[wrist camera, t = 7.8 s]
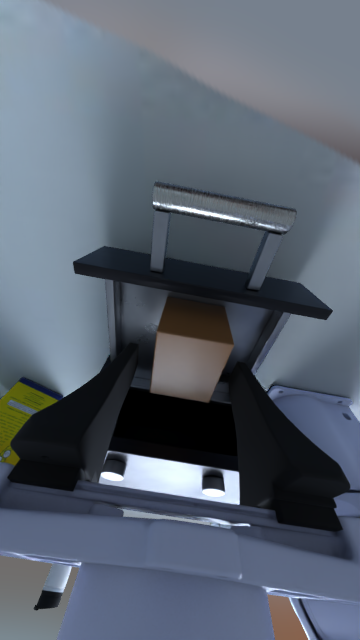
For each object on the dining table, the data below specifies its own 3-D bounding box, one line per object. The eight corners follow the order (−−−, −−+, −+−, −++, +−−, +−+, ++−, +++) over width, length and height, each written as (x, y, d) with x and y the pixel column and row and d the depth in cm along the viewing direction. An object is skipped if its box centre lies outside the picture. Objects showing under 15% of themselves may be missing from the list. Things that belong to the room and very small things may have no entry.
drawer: (336, 218, 12) (395, 227, 8) (240, 389, 22) (248, 425, 18) (99, 171, 11) (55, 159, 8) (112, 366, 21) (95, 399, 18)
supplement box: (50, 411, 29) (-17, 508, 20) (11, 394, 27) (-83, 492, 18) (65, 396, 26) (-5, 501, 17) (22, 375, 24) (-82, 481, 15)
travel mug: (74, 511, 69) (35, 611, 52) (91, 515, 70) (58, 613, 54) (70, 513, 72) (31, 608, 55) (86, 517, 74) (53, 610, 57)
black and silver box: (247, 378, 21) (278, 491, 13) (214, 435, 29) (221, 527, 21) (109, 354, 21) (52, 455, 13) (114, 418, 29) (80, 506, 20)
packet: (225, 306, 14) (235, 344, 11) (206, 359, 18) (209, 403, 14) (167, 295, 14) (156, 330, 10) (159, 351, 18) (149, 393, 14)
